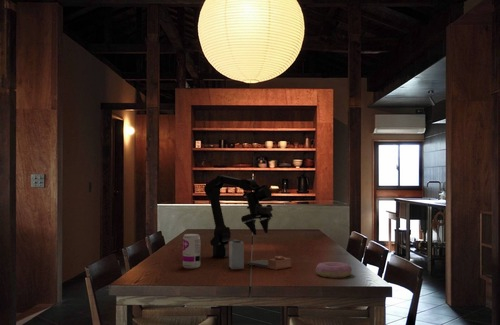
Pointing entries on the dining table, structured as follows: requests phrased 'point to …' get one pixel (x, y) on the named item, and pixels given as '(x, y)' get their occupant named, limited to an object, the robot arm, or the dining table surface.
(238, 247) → the lock block
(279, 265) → the block
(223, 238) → the robot arm
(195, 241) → the supplement can
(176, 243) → the dining table surface
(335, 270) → the donut
